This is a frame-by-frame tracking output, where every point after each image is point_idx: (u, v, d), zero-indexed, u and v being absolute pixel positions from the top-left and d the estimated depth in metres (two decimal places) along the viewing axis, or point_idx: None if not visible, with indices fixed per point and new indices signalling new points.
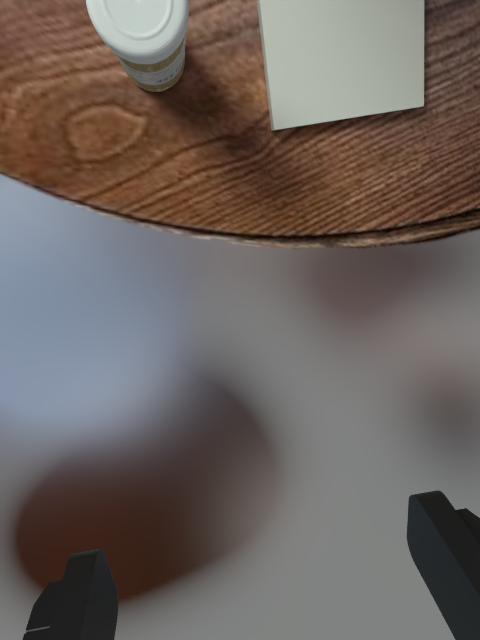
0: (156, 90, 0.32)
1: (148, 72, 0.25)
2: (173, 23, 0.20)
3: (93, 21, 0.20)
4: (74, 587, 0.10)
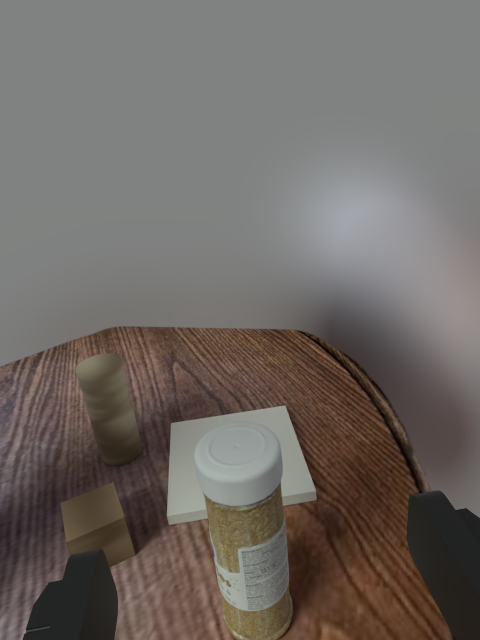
0: (291, 602, 0.28)
1: None
2: (253, 425, 0.24)
3: (253, 475, 0.21)
4: (74, 587, 0.10)
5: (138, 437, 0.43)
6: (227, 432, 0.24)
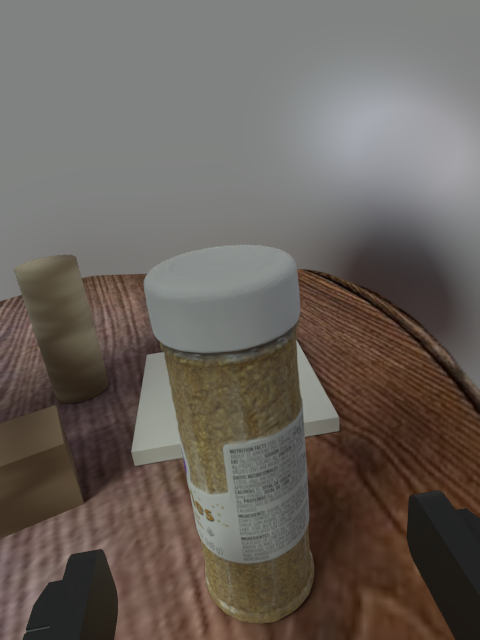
0: (311, 557, 0.18)
1: (301, 398, 0.15)
2: (248, 246, 0.14)
3: (248, 287, 0.11)
4: (74, 587, 0.10)
5: (103, 368, 0.33)
6: (204, 254, 0.14)
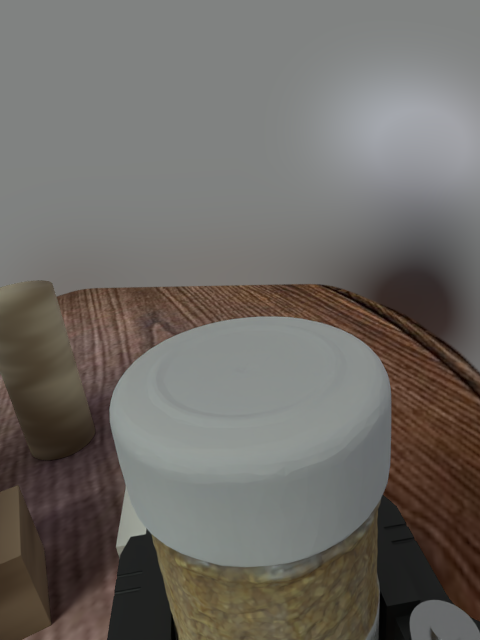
0: None
1: None
2: (292, 322, 0.09)
3: (315, 453, 0.05)
4: None
5: (87, 415, 0.28)
6: (217, 338, 0.08)
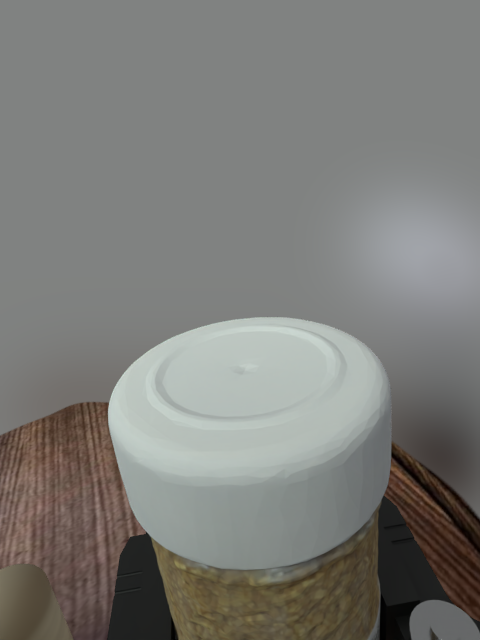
0: None
1: None
2: (291, 323, 0.09)
3: (315, 455, 0.05)
4: None
5: None
6: (217, 339, 0.08)
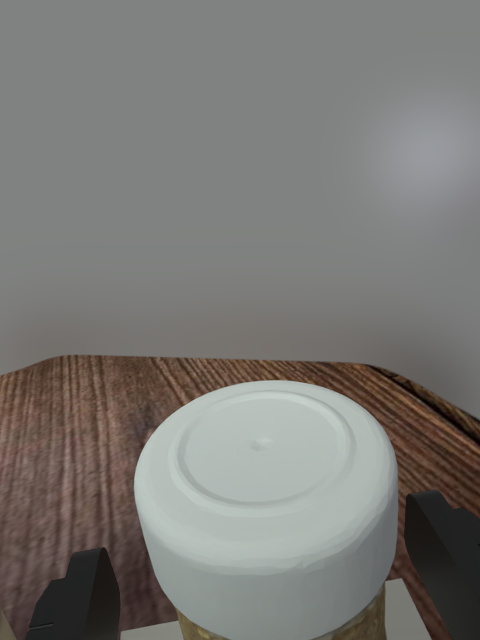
0: None
1: None
2: (302, 389, 0.09)
3: (330, 546, 0.06)
4: (77, 585, 0.10)
5: None
6: (232, 407, 0.09)
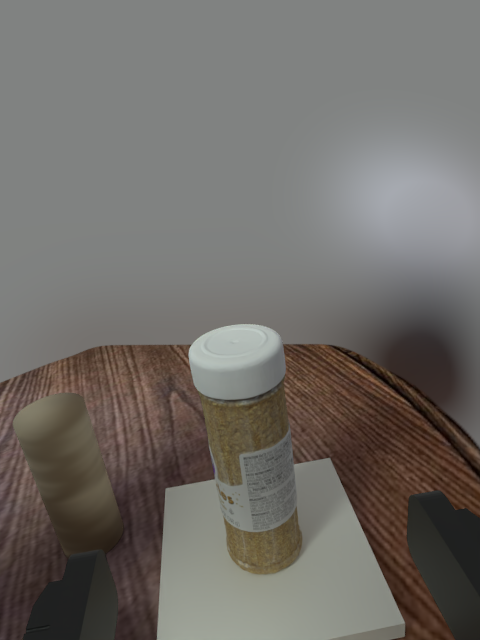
0: (300, 531, 0.26)
1: (288, 422, 0.23)
2: (252, 326, 0.22)
3: (253, 362, 0.19)
4: (74, 587, 0.10)
5: (116, 515, 0.29)
6: (224, 332, 0.22)
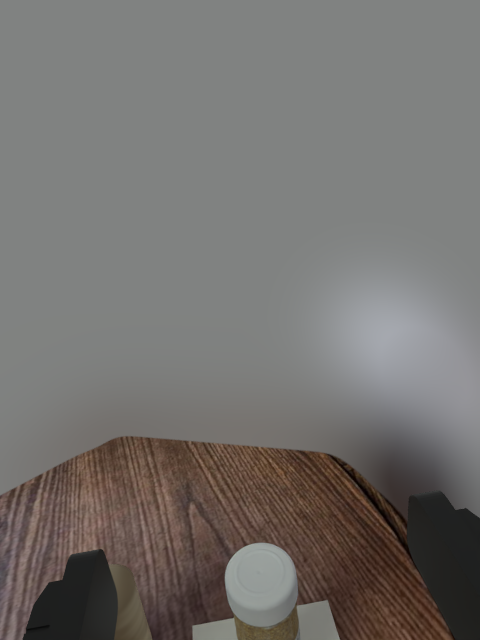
0: None
1: (298, 620, 0.30)
2: (272, 549, 0.29)
3: (275, 604, 0.26)
4: (74, 587, 0.10)
5: None
6: (251, 556, 0.29)
